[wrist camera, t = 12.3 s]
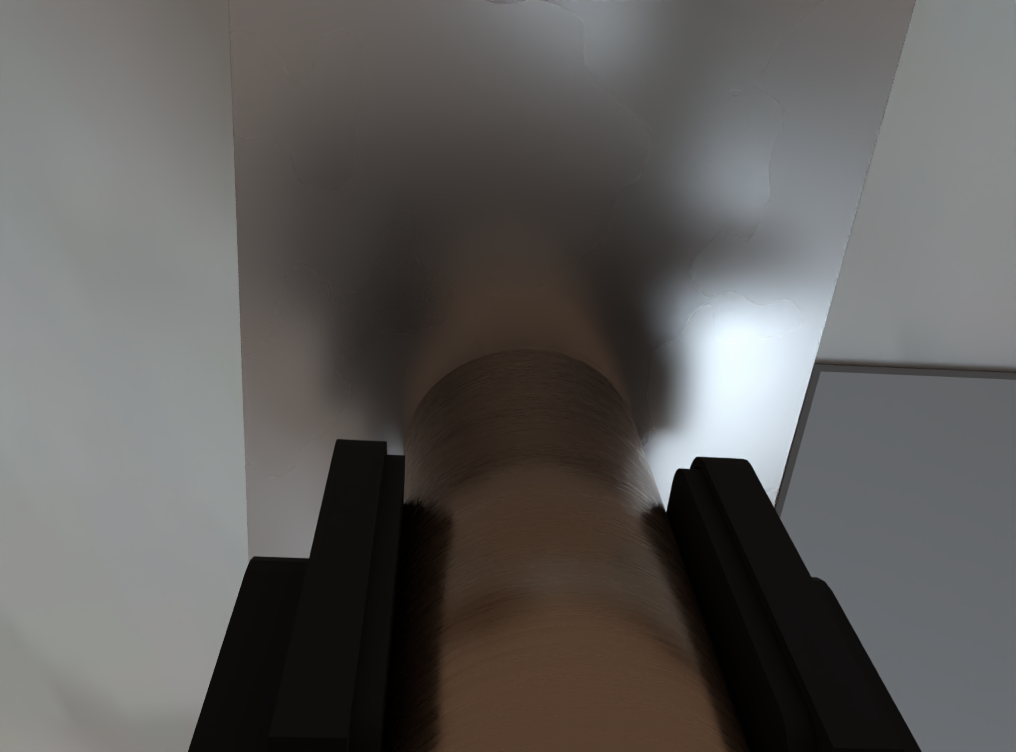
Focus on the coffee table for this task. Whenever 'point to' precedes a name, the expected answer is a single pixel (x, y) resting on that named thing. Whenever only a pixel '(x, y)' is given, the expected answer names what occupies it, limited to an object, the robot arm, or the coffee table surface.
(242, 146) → the trowel
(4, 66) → the coffee table surface
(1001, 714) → the mat
